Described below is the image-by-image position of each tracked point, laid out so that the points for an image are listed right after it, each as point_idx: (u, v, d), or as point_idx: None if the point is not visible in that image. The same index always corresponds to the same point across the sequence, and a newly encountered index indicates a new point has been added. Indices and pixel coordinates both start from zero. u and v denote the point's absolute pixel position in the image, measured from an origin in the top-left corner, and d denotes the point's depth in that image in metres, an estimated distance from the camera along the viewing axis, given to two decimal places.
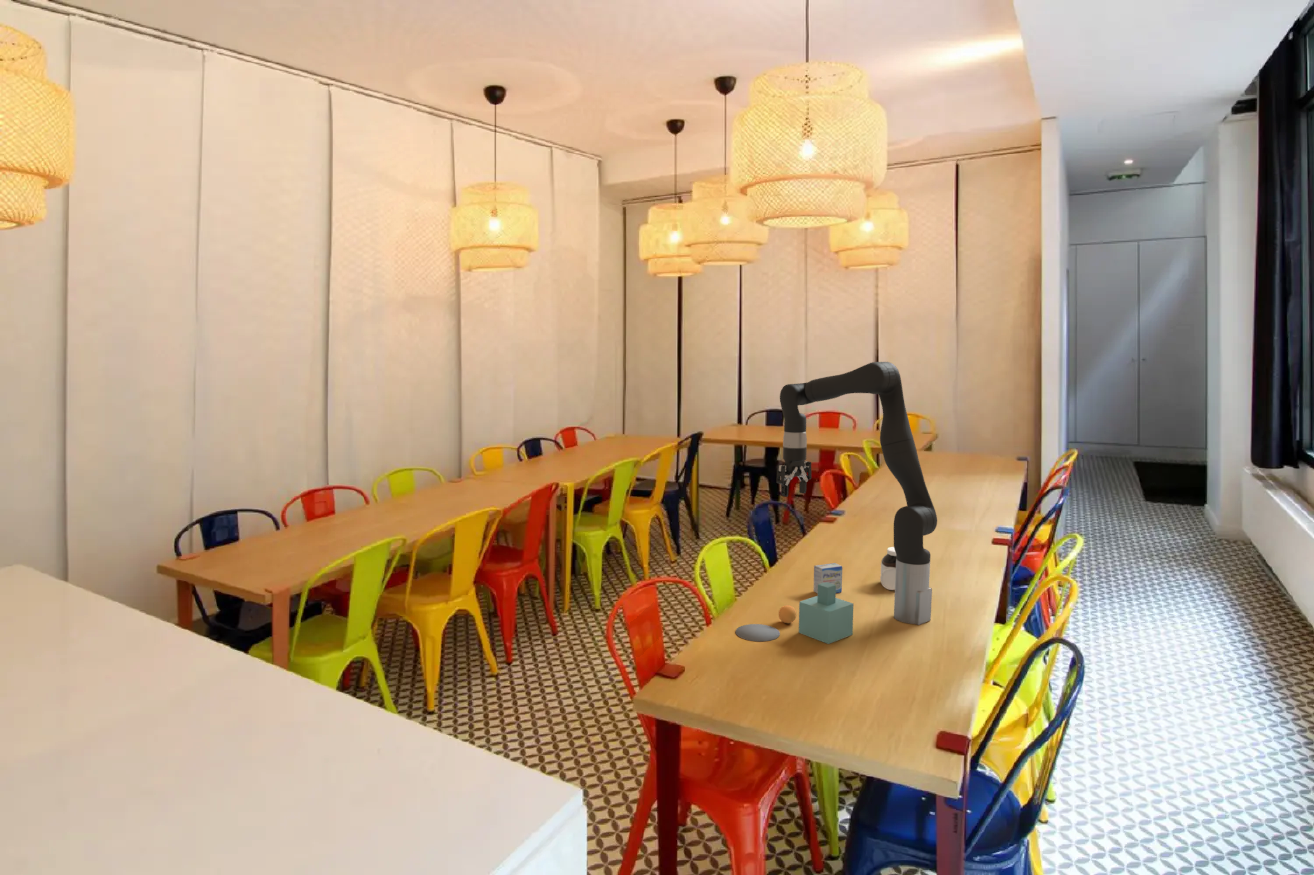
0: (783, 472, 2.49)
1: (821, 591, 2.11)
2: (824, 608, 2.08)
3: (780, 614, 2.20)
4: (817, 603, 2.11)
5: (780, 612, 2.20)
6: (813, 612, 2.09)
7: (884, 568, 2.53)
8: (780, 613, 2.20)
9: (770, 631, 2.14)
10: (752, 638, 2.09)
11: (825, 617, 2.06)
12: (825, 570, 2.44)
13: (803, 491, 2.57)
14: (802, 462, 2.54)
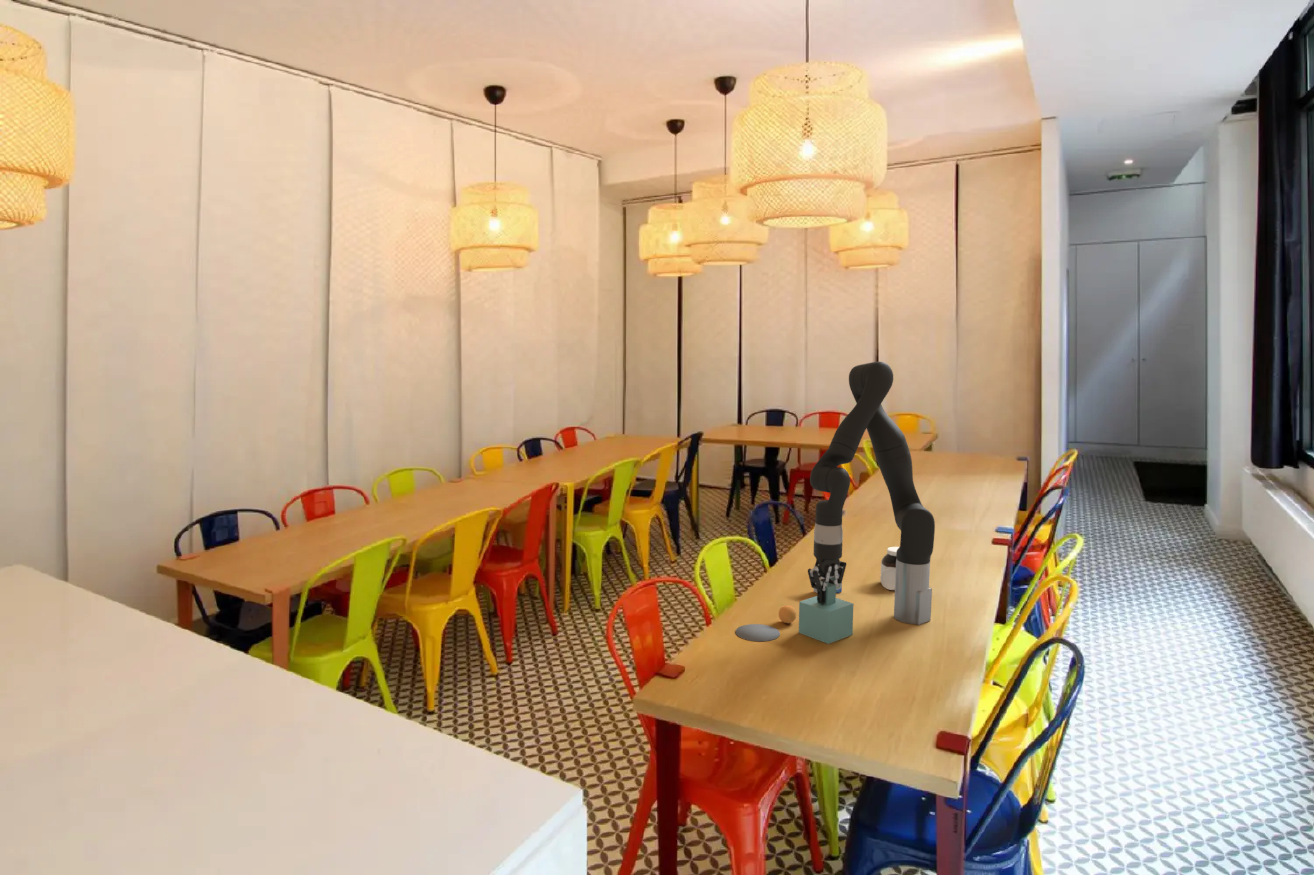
0: (817, 578, 2.07)
1: None
2: (824, 608, 2.08)
3: (780, 614, 2.20)
4: (817, 603, 2.11)
5: (780, 612, 2.20)
6: (813, 612, 2.09)
7: (884, 568, 2.53)
8: (780, 613, 2.20)
9: (770, 631, 2.14)
10: (752, 638, 2.09)
11: (825, 617, 2.06)
12: None
13: None
14: (838, 558, 2.12)
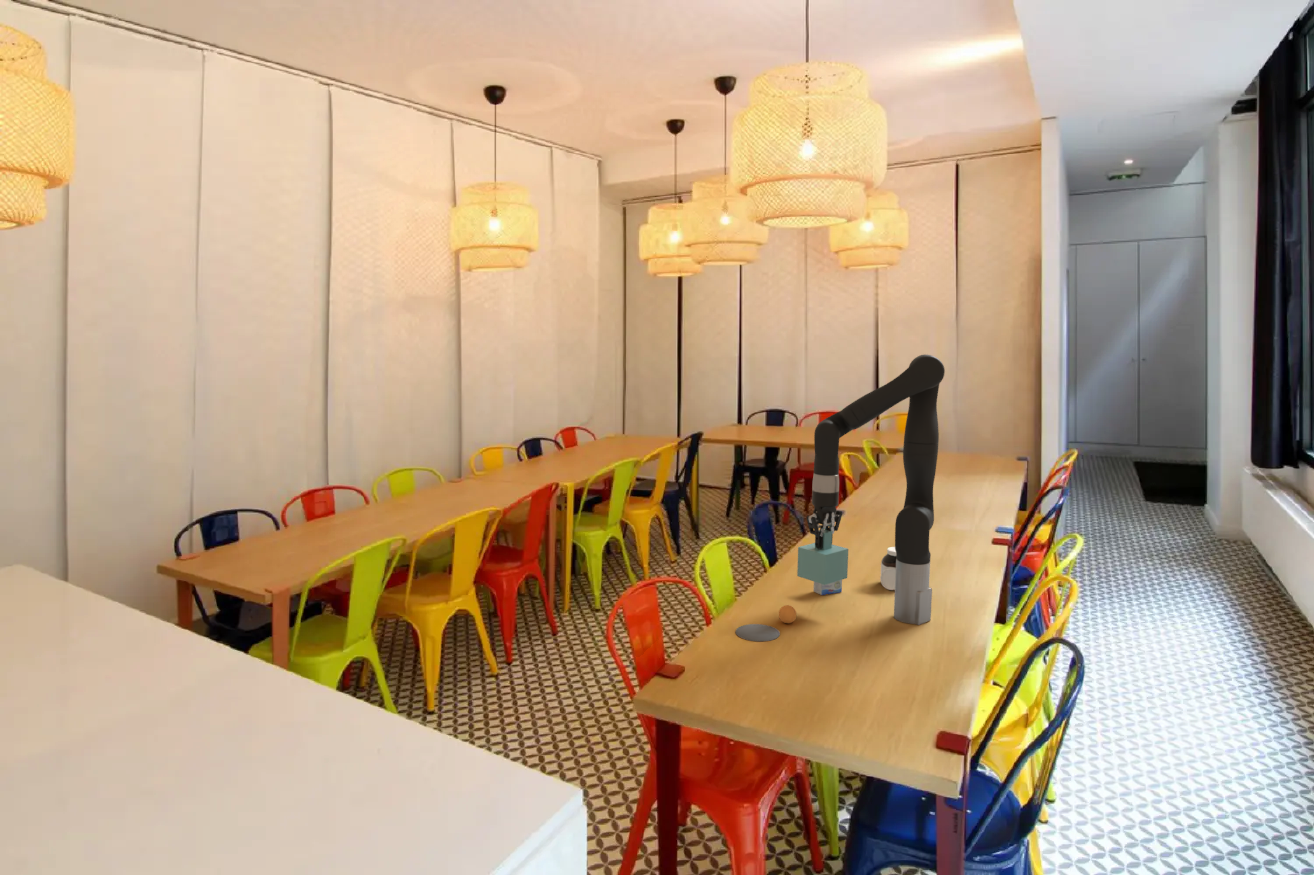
0: (815, 524, 2.23)
1: None
2: (821, 552, 2.24)
3: (780, 614, 2.20)
4: (814, 548, 2.27)
5: (780, 612, 2.20)
6: (811, 556, 2.25)
7: (884, 568, 2.53)
8: (780, 613, 2.20)
9: (770, 631, 2.14)
10: (752, 638, 2.09)
11: (821, 560, 2.22)
12: None
13: None
14: (834, 507, 2.28)
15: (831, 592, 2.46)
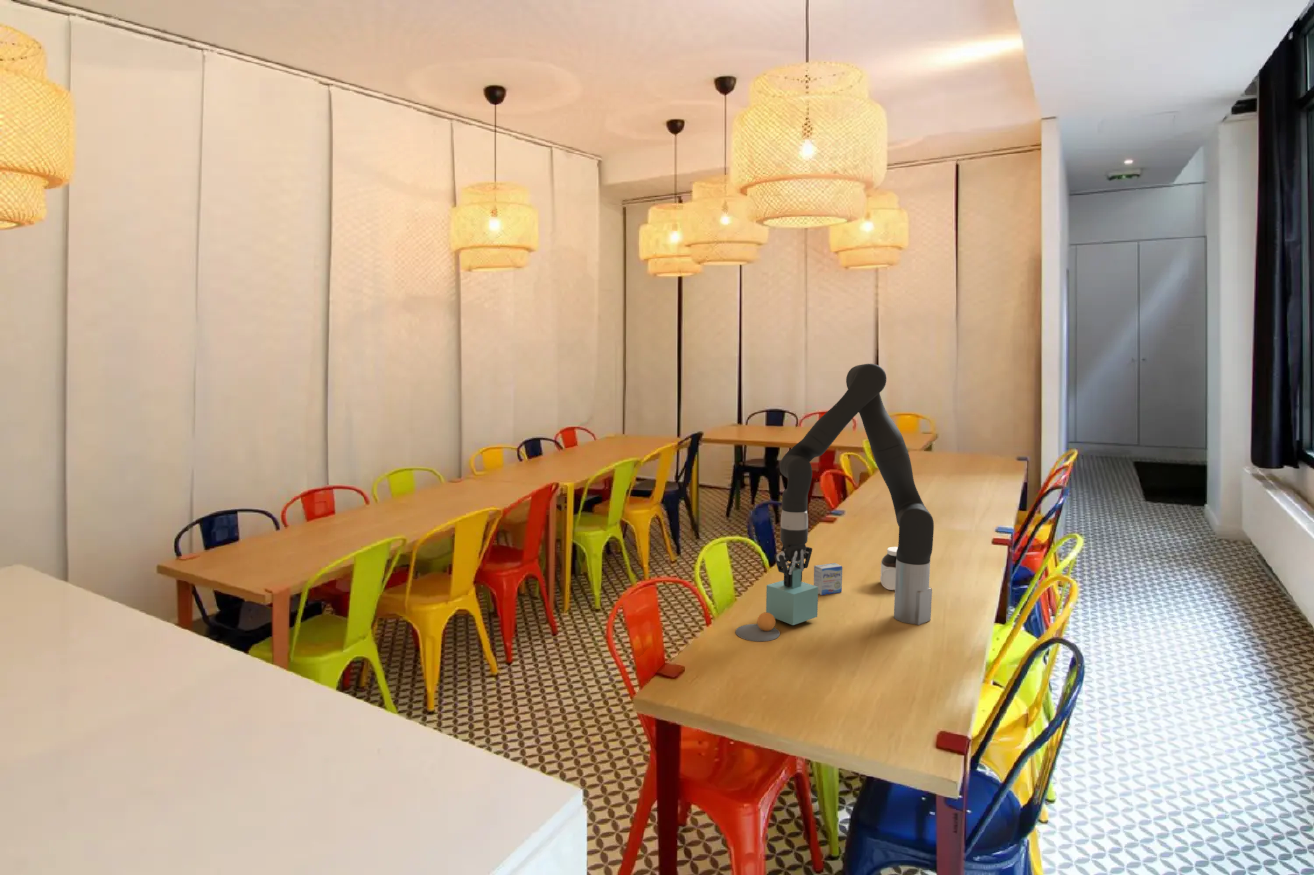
0: (783, 562, 2.16)
1: None
2: (789, 591, 2.17)
3: None
4: (783, 586, 2.21)
5: None
6: (779, 595, 2.19)
7: (884, 568, 2.53)
8: None
9: (770, 631, 2.14)
10: (752, 638, 2.09)
11: (790, 599, 2.16)
12: (825, 570, 2.44)
13: None
14: (804, 544, 2.21)
15: (831, 592, 2.46)
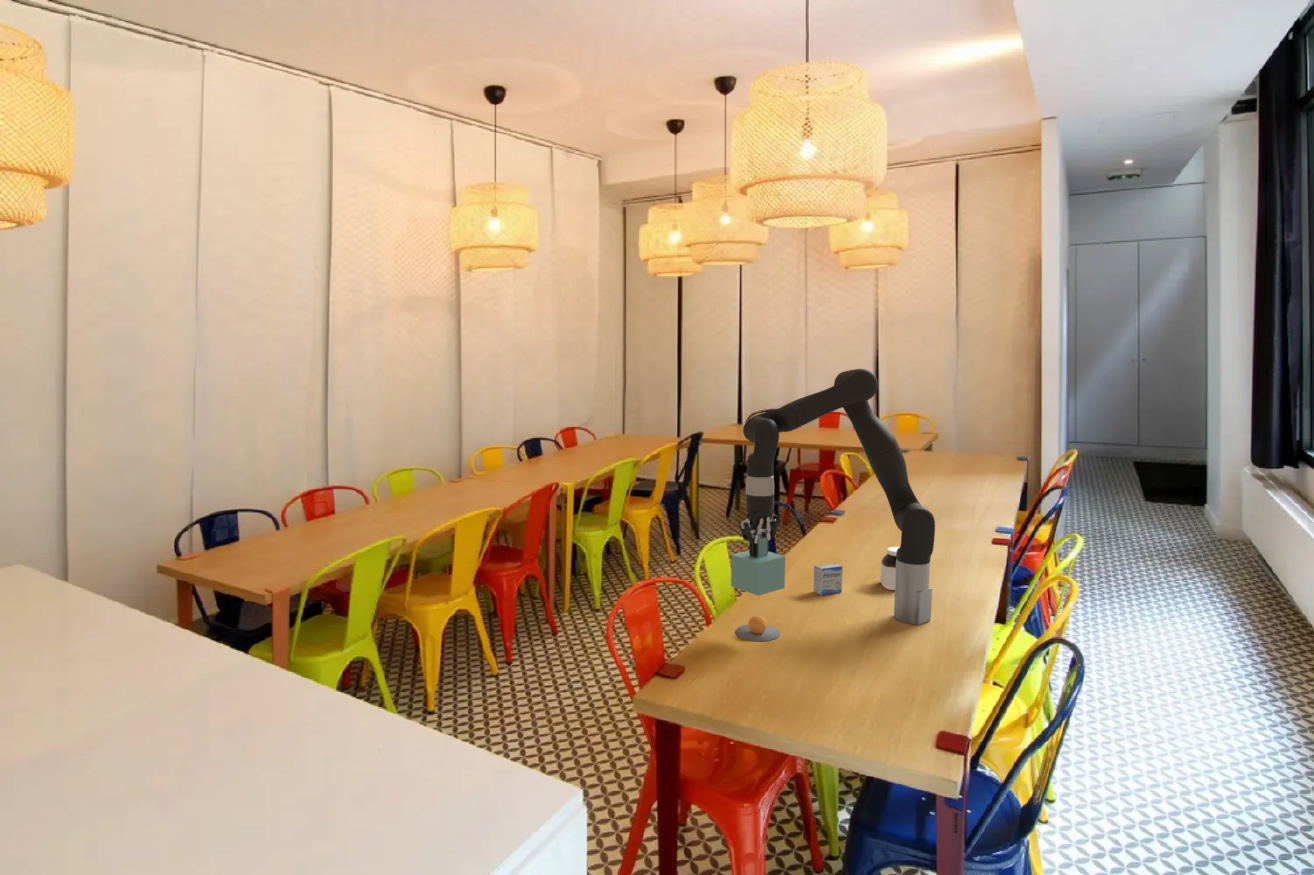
0: (748, 530, 2.06)
1: None
2: (754, 560, 2.07)
3: (756, 615, 2.13)
4: (749, 556, 2.10)
5: (757, 615, 2.14)
6: (744, 564, 2.08)
7: (884, 568, 2.53)
8: (757, 615, 2.13)
9: (770, 631, 2.14)
10: (752, 638, 2.09)
11: (755, 569, 2.05)
12: (825, 570, 2.44)
13: None
14: (770, 511, 2.10)
15: (831, 592, 2.46)
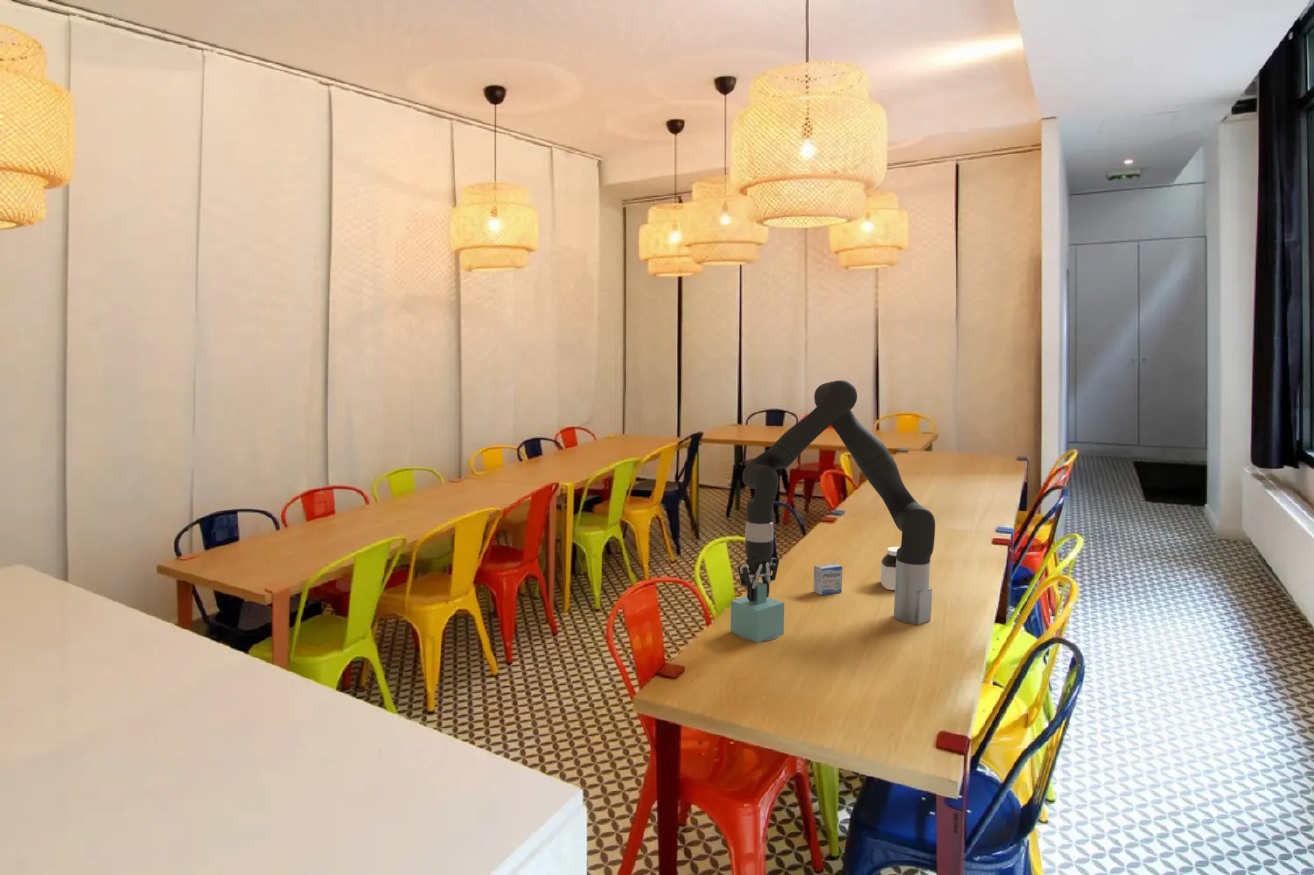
0: (746, 575, 2.07)
1: None
2: (754, 607, 2.08)
3: None
4: (748, 602, 2.12)
5: None
6: (743, 611, 2.10)
7: (884, 568, 2.53)
8: None
9: None
10: None
11: (754, 616, 2.07)
12: (825, 570, 2.44)
13: None
14: (769, 556, 2.12)
15: (831, 592, 2.46)
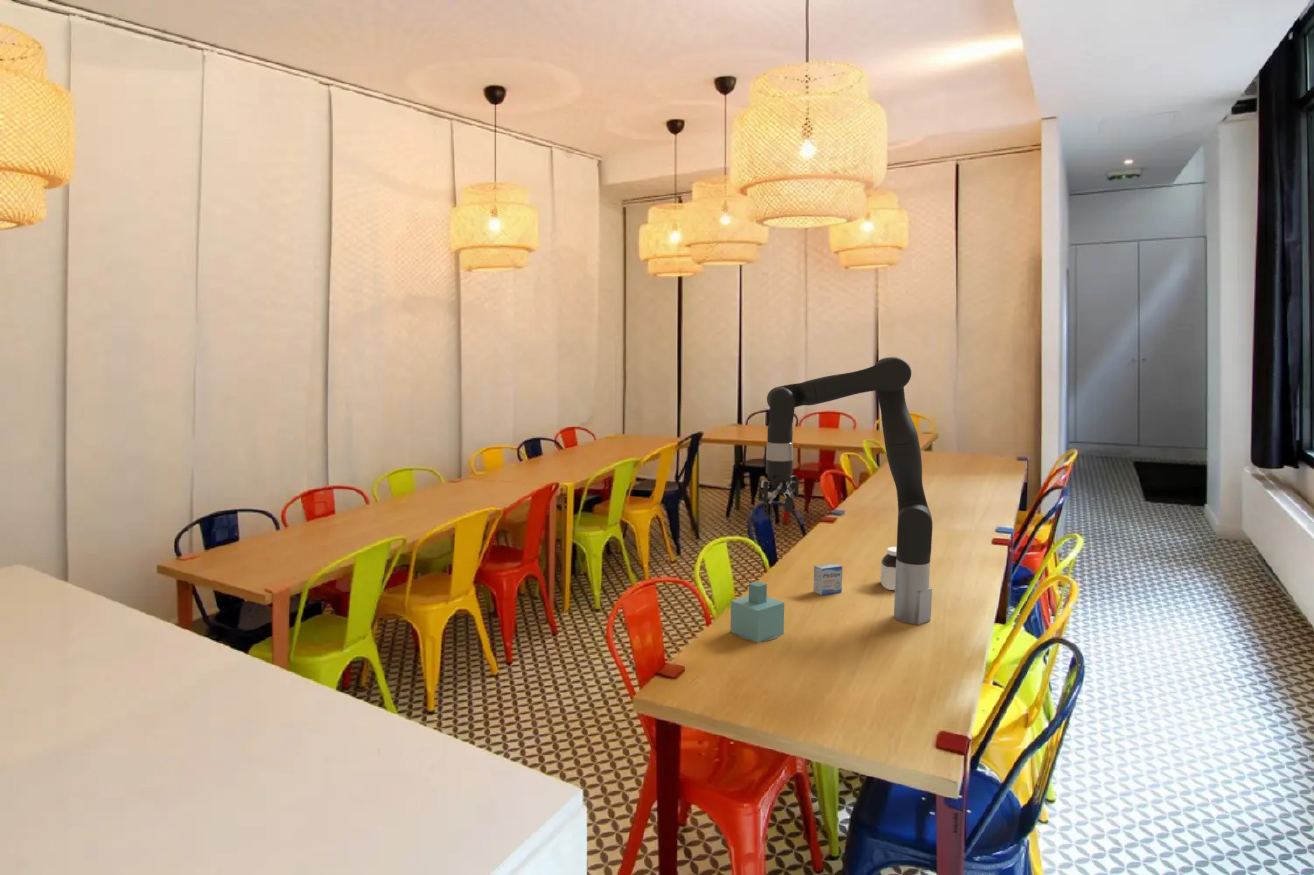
0: (766, 489, 2.17)
1: (752, 590, 2.12)
2: (754, 607, 2.08)
3: None
4: (748, 602, 2.12)
5: None
6: (743, 611, 2.10)
7: (884, 568, 2.53)
8: None
9: None
10: None
11: (754, 616, 2.07)
12: (825, 570, 2.44)
13: (789, 510, 2.25)
14: (788, 477, 2.23)
15: (831, 592, 2.46)
